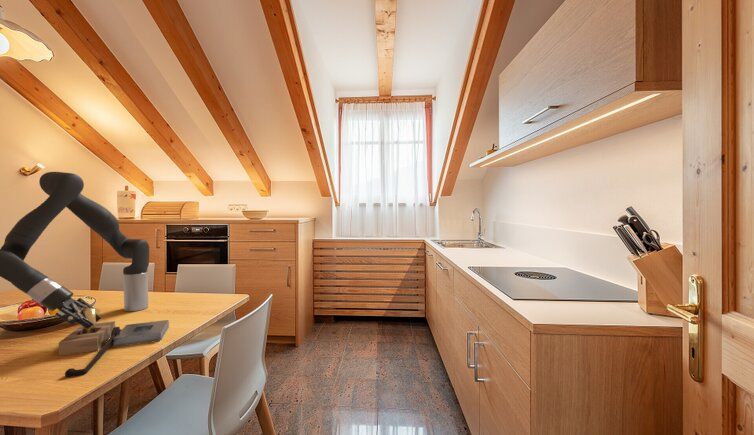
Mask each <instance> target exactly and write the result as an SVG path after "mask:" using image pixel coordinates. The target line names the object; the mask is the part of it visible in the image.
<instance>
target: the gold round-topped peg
mask: <svg viewBox="0 0 754 435" xmlns="http://www.w3.org/2000/svg"><path fill="white" fill-rule="evenodd" d="M95 313H96V308H95V307H93V308H87V309H83V310H82V314H81V315H82V316H83V317H85V318H86V319H88V320H89V321H91V322H92V323H93V325H92V326H91V327H90V328H89V329H87V328H85V327H83V326H82V332H83V334H88V333H96V323H97V322H96V315H95Z"/></svg>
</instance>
